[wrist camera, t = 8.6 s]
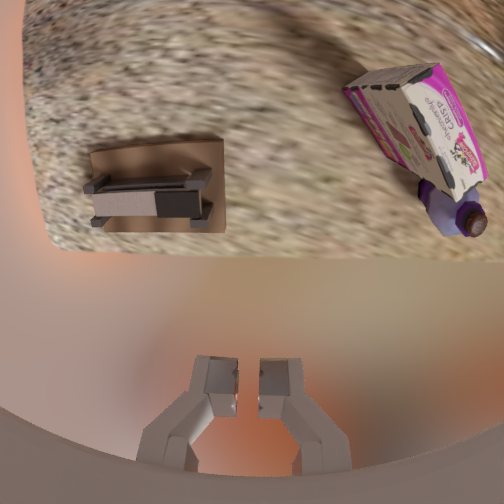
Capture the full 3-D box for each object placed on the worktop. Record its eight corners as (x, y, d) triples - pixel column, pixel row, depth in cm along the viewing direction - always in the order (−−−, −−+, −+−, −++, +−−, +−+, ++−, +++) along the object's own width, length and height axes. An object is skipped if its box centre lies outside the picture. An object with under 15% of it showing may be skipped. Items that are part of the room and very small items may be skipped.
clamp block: (107, 212, 37) (90, 228, 32) (100, 174, 34) (81, 187, 29) (214, 210, 36) (207, 228, 32) (212, 168, 33) (204, 180, 29)
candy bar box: (413, 139, 32) (491, 178, 18) (386, 158, 33) (455, 207, 19) (369, 68, 27) (442, 60, 13) (339, 87, 29) (398, 87, 15)
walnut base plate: (110, 226, 40) (105, 232, 38) (97, 149, 34) (89, 153, 32) (226, 226, 40) (224, 232, 38) (223, 139, 33) (221, 142, 32)
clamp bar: (99, 213, 33) (93, 218, 32) (94, 192, 31) (89, 196, 30) (202, 212, 32) (199, 217, 31) (200, 188, 31) (197, 192, 30)
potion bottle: (446, 152, 32) (499, 179, 22) (458, 201, 36) (503, 238, 25) (401, 175, 34) (446, 211, 24) (416, 224, 38) (456, 269, 28)
